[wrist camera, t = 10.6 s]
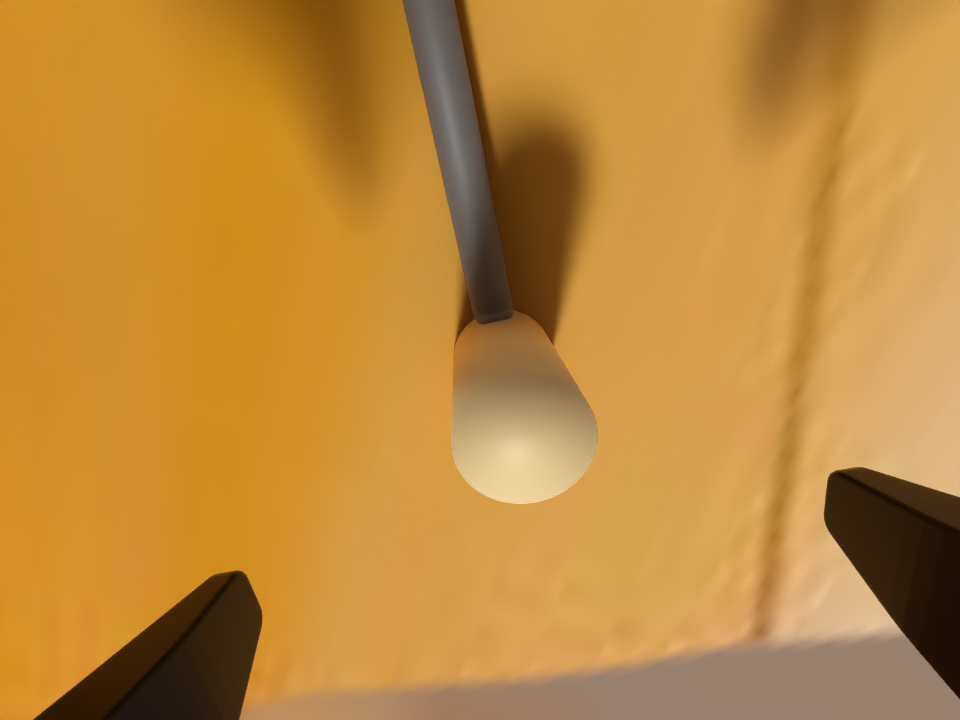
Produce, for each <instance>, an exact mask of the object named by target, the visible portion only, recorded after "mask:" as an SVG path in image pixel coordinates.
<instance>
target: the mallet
mask: <svg viewBox="0 0 960 720" xmlns="http://www.w3.org/2000/svg"><path fill="white" fill-rule="evenodd" d="M403 4H404V9H405V13H406V17H407V22H408V26H409V31H410V35H411V40H412V44H413V49H414V53H415V58H416V62H417V66H418V71H419V75H420V80H421V84H422V89H423V93H424V98H425V102H426V107H427V111H428V115H429V120H430V124H431V129H432V133H433V138H434V142H435V147H436V151H437V156H438V160H439V164H440V169H441V173H442V178H443V182H444V187H445V191H446V196H447V200H448V205H449V209H450V213H451V218H452V222H453V227H454V231H455V236H456V240H457V245H458V249H459V254H460V258H461V262H462V267H463V271H464V276H465V280H466V285H467V289H468V294H469V298H470V303H471V307H472V311H473V315H474V319H473V320H472V321H471V322H469V323H468V324H467V325H466V326H465V328H464V329H463V330H462V332H461V333H460V335H459V337H458V339H457V342H456V345H455V349H454V363H453V399H452V435H451V445H452V454H453V458H454V461H455V464H456V466H457V468H458V470H459V472H460V474H461V475H462V476H463V478H464V479H465V480H466V481H467V482H468V483H469V484H470V485H471V486H472V487H473V488H474V489H476V490H477V491H478V492H480V493H482V494H483V495H485V496H487V497H489V498H492V499H495V500H498V501H501V502H506V503H514V504H528V503H535V502H540V501H544V500H547V499H550V498H552V497H555V496H557V495H559V494H561V493H563V492H564V491H566V490H567V489H569V488H570V487H571V486H572V485H574V484H575V483H576V482H577V481H578V480H579V479H580V478H581V477H582V476H583V475H584V473H585V472H586V470H587V469H588V467H589V466H590V464H591V462H592V460H593V457H594V455H595V452H596V447H597V441H598V429H597V423H596V419H595V416H594V414H593V411H592V409H591V408H590V406H589V404H588V402H587V401H586V399H585V397H584V396H583V394H582V392H581V391H580V389H579V387H578V386H577V384H576V383H575V381H574V379H573V378H572V376H571V374H570V373H569V371H568V369H567V368H566V366H565V364H564V363H563V361H562V359H561V358H560V356H559V354H558V353H557V351H556V349H555V348H554V346H553V344H552V343H551V341H550V339H549V338H548V336H547V334H546V333H545V331H544V330H543V328H542V327H541V326H540V325H539V324H538V323H537V322H536V321H535V320H534V319H533V318H531V317H530V316H528V315H526V314H524V313H521V312H519V311H514V310H513V302H512V297H511V291H510V286H509V281H508V276H507V271H506V265H505V260H504V255H503V250H502V245H501V239H500V234H499V229H498V224H497V219H496V213H495V208H494V203H493V198H492V193H491V187H490V182H489V177H488V172H487V167H486V161H485V156H484V151H483V146H482V141H481V135H480V130H479V125H478V120H477V115H476V109H475V104H474V99H473V94H472V89H471V83H470V78H469V73H468V68H467V63H466V57H465V52H464V47H463V42H462V37H461V31H460V26H459V21H458V16H457V11H456V5H455V0H403Z"/></svg>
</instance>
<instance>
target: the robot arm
mask: <svg viewBox="0 0 960 720" xmlns="http://www.w3.org/2000/svg"><path fill="white" fill-rule="evenodd" d="M824 520H825V524H826V527H827V529H828V531H829V532H830V534H831V535H832V537H833V538H834V539H835V541H836V542H837V544H838V545H839V546H840V548H841V549H842V550H843V552H844V553H845V555H846V556H847V557H848V559H849V560H850V561H851V563H852V564H853V566H854V567H855V568H856V570H857V571H858V573H859V574H860V575H861V577H862V578H863V579H864V581H865V582H866V584H867V585H868V586H869V588H870V589H871V590H872V592H873V593H874V595H875V596H876V597H877V599H878V600H879V602H880V603H881V604H882V606H883V607H884V608H885V610H886V611H887V613H888V614H889V615H890V617H891V618H892V619H893V620H894V622H895V623H896V624H897V626H898V627H899V628H900V630H901V631H902V632H903V633H904V634H905V636H906V637H907V638H908V639H909V641H910V642H911V643H912V644H913V645H914V647H915V648H916V649H917V650H918V651H919V652H920V654H921V655H922V656H923V657H924V658H925V659H926V660H927V662H928V663H929V664H930V665H931V666H932V668H933V669H934V670H935V671H936V672H937V673H938V675H939V676H940V677H941V678H942V679H943V680H944V682H945V683H946V684H947V685H948V686H949V687H950V689H951V690H952V691H953V692H954V693H955V694H956V696H957V697H958V698H959V699H960V497H957V496H954V495H950V494H947V493H944V492H941V491H938V490H934V489H931V488H928V487H925V486H922V485H918V484H915V483H912V482H909V481H906V480H902V479H899V478H896V477H893V476H890V475H886V474H883V473H880V472H877V471H874V470H870V469H867V468H863V467H854V468H848V469H842V470H836V471H834V472H832V473H831V474H830V475H829V477H828V480H827V489H826V498H825V508H824ZM261 627H262V610H261V607H260V605H259V602H258V600H257V598H256V596H255V593H254V591H253V589H252V586H251V584H250V582H249V580H248V577H247V576H246V574H245V573H244V572H242V571H231V572H225V573H219V574H215V575H213V576H211V577H210V578H209V579H207V580H206V581H205V582H204V583H202V584H201V585H200V586H199V587H197V588H196V589H195V590H194V591H192V592H191V593H190V594H189V595H187V596H186V597H185V598H184V599H183V600H181V601H180V602H179V603H178V604H176V605H175V606H174V607H173V608H171V609H170V610H169V611H168V612H166V613H165V614H164V615H163V616H161V617H160V618H159V619H158V620H156V621H155V622H154V623H153V624H151V625H150V626H149V627H148V628H146V629H145V630H144V631H143V632H141V633H140V634H139V635H138V636H137V637H135V638H134V639H133V640H132V641H130V642H129V643H128V644H127V645H125V646H124V647H123V648H122V649H120V650H119V651H118V652H117V653H115V654H114V655H113V656H112V657H110V658H109V659H108V660H107V661H105V662H104V663H103V664H102V665H100V666H99V667H98V668H97V669H95V670H94V671H93V672H92V673H91V674H89V675H88V676H87V677H86V678H84V679H83V680H82V681H81V682H79V683H78V684H77V685H76V686H74V687H73V688H72V689H71V690H69V691H68V692H67V693H66V694H64V695H63V696H62V697H61V698H59V699H58V700H57V701H56V702H54V703H53V704H52V705H51V706H49V707H48V708H47V709H46V710H45V711H43V712H42V713H41V714H40V715H38V716H37V717H36V718H35V719H33V720H239V719H240V715H241V711H242V707H243V702H244V698H245V694H246V690H247V686H248V682H249V677H250V673H251V669H252V665H253V661H254V656H255V652H256V648H257V644H258V640H259V636H260V631H261Z"/></svg>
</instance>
